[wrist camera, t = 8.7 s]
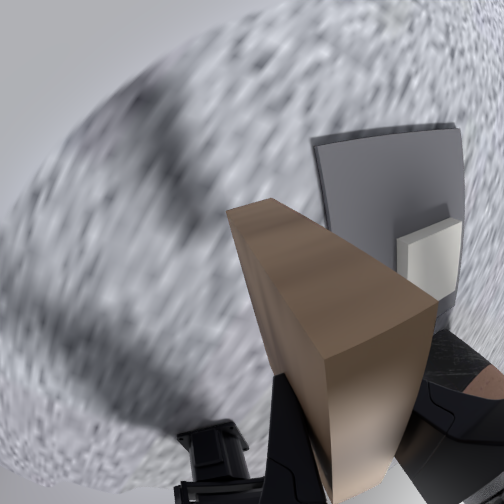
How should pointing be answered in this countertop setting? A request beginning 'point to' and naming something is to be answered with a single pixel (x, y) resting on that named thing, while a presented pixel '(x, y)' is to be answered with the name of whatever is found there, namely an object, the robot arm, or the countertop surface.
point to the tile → (431, 257)
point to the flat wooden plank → (336, 338)
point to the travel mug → (462, 368)
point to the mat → (393, 190)
